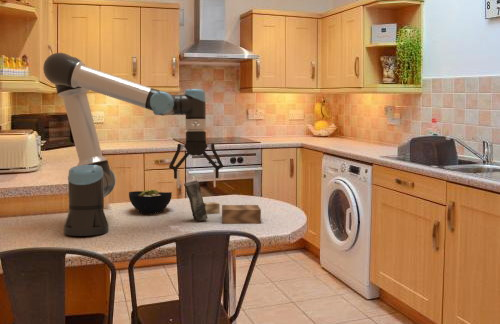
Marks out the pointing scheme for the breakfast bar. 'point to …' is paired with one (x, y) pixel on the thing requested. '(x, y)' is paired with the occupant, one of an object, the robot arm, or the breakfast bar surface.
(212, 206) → the oak cube
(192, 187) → the stone block
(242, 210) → the plinth
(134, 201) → the bowl
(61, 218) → the breakfast bar surface
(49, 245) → the breakfast bar surface
